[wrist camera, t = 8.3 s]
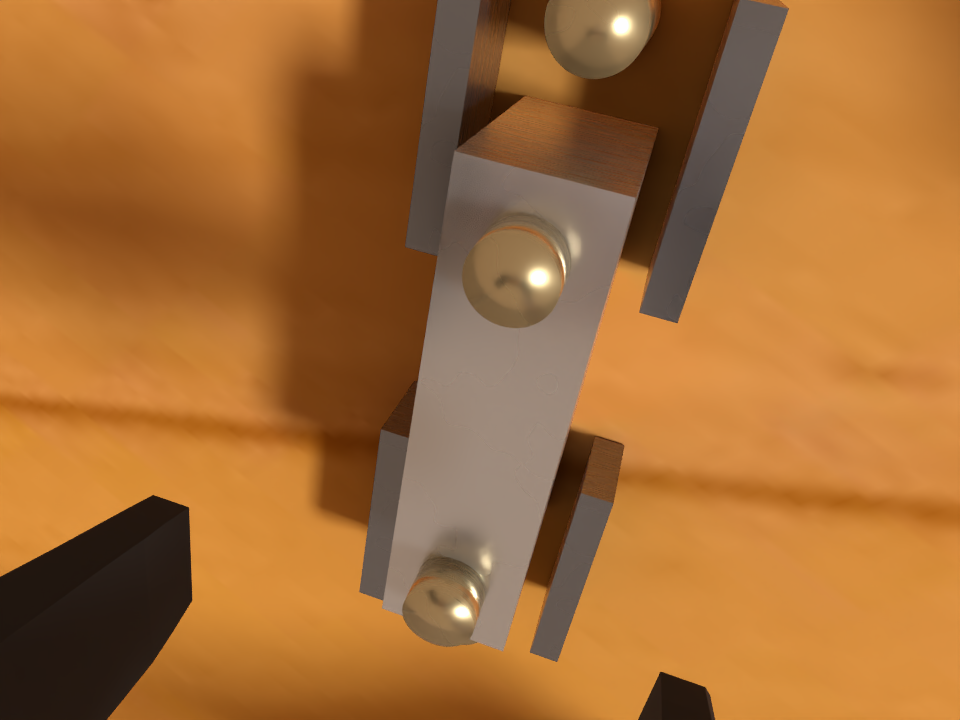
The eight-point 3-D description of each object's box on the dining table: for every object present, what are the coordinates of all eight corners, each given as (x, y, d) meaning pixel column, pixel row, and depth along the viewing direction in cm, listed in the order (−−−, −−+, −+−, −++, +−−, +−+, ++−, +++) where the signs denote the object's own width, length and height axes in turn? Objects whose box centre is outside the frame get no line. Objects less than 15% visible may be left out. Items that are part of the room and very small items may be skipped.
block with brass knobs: (548, 502, 22) (492, 687, 17) (451, 471, 22) (365, 641, 17) (659, 126, 16) (629, 217, 11) (526, 94, 17) (434, 166, 11)
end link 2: (570, 599, 23) (552, 678, 21) (390, 537, 24) (352, 607, 22) (624, 445, 20) (610, 516, 18) (414, 380, 21) (373, 440, 19)
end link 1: (681, 277, 18) (676, 334, 15) (440, 212, 19) (396, 254, 16) (780, -7, 15) (793, 3, 12) (484, -70, 15) (438, -72, 13)
